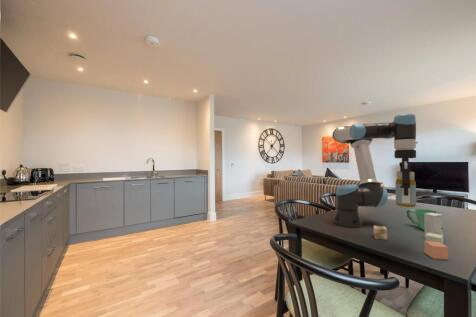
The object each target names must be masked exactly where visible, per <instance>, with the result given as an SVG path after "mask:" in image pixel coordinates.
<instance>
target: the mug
mask: <svg viewBox="0 0 476 317" xmlns="http://www.w3.org/2000/svg"><path fill="white" fill-rule="evenodd" d="M411 213H414V214H415V216H416V220H417V221H416V220H415V219H414V218H413V217H412V216H411ZM424 213H437V214H440V212H437V211H436V210H433V209H422V208H418V209H412V208H408V209H407V210H406V216H407V218H408V219H409V220H410V221H411V222H412V223H413V224H414V225H416V226H417V227H420V229H421V230H423V231H425V227H424Z"/></svg>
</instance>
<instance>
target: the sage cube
mask: <svg viewBox="0 0 476 317" xmlns="http://www.w3.org/2000/svg"><path fill="white" fill-rule="evenodd" d="M425 241H431V242H440V243H441V244H443V245H444V234H443V235H438V234H433V233H427V234H426V238H425Z"/></svg>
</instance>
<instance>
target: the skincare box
mask: <svg viewBox="0 0 476 317" xmlns="http://www.w3.org/2000/svg"><path fill="white" fill-rule="evenodd" d="M437 213H438V212H437ZM437 213H424V227H425V230H424V239H426V234H427V233H433V234H438V235H443V236H444V224H443V223H444V222H443V220H444V219H443V218H444V216H443V214H441V213H439V214H437Z"/></svg>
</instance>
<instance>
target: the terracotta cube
mask: <svg viewBox="0 0 476 317" xmlns="http://www.w3.org/2000/svg"><path fill="white" fill-rule="evenodd" d="M423 245H424V254H425V255H427V256H429V257H430V258H431V259H434V260H449V246H446V245H445V244H444V243H443V244H441V243H440V242H431V241H426V240H424V244H423Z"/></svg>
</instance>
